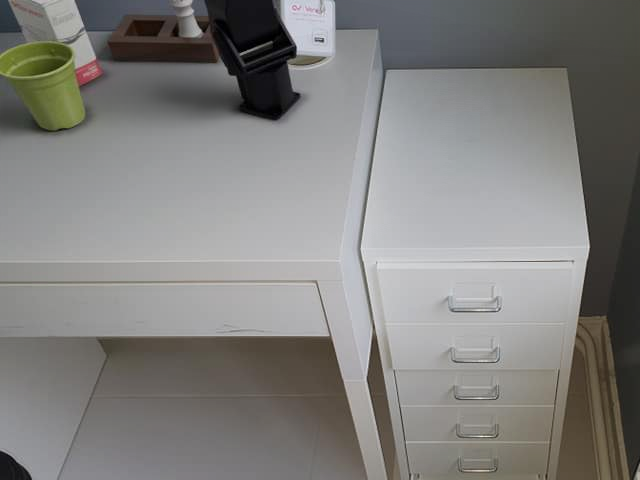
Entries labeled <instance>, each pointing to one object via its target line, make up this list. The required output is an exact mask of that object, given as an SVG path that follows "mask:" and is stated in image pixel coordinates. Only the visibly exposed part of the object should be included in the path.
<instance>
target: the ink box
mask: <svg viewBox="0 0 640 480" xmlns="http://www.w3.org/2000/svg"><path fill="white" fill-rule="evenodd" d="M7 1H8V4H9V5H10V7H11V10H12V13H13V14H14V17H15V19H16V21H17V23H18V26H19V28H20V30H21V32H22V34H23V36H24V39H25V41H26V43H31V42H39V41H55V42H60V43H64V44H66V45H68V46H70V47H71V48H72V49H73V50H74V52H75V59H74V63H75V74H76V78H77V82H78V86H79V88H80V87H82V86H84V85H85V84H88V83H89V82H91V81H93V80H95V79H97V78H99V77H101V76H102V75H103V72H102V69H101V67H100V64H99V62H98V60H97V56H96V53H95V51H94V48H93V46H92V44H91V40H90V38H89V36H88V33H87V31H86V27H85V25H84V22H83V19H82V17H81V14H80V11H79V9H78V6H77V3H76V1H75V0H7Z"/></svg>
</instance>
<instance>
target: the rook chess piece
mask: <svg viewBox="0 0 640 480" xmlns="http://www.w3.org/2000/svg"><path fill="white" fill-rule="evenodd" d="M193 2H194V0H169V5H170V6H171V7H172V8H173V9H174V12H173V14H174V15H176V16H177V19H178V24H179V33H178V34H179V36H178V37H201V38H203V36H204V34H205V33H203V32H202V30H201V29H200V28H199V27H198V25H197V22H196V20H195V18H194V16H195V15H194V13H195V10H194V9H193V8H192V5H193Z"/></svg>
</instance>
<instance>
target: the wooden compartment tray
mask: <svg viewBox="0 0 640 480" xmlns="http://www.w3.org/2000/svg"><path fill="white" fill-rule="evenodd" d="M194 18H195V20H196V22H197V25H198V27H199V28H200V29H201V30H202V32H203V33H205V34H204V36H203V38H201V37H178V36H179V34H178V33H179V24H178V19H177V16H176V15H175V14H129V13H128V14H123V17H122V18H121V20H120V21H119V23H118V24H117V26H116V27H115V28H114V30H113V32H112V33H111V35H110V36H109V38H108V39H107V41H106V43H107V46H108V48H109V50H110V53H111V56H112V59H113V61H114V62H153V63H154V62H156V63H159V62H161V63H210V64H211V63H212V64H213V63H218V62H219V59H220V58H221V57H220V55H219V52H218V50H217V47H216V45H215V42H214V40H213V38H212V35H211V33H210V22H209V18H208V15H194Z"/></svg>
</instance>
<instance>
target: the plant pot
mask: <svg viewBox="0 0 640 480" xmlns="http://www.w3.org/2000/svg"><path fill="white" fill-rule="evenodd" d="M74 59H75V52H74V50H73V49H72V48H71V47H70V46H68V45H66V44H64V43H60V42H55V41H39V42H31V43H27V42H26V43H23V44H19V45H16V46H14V47H11V48H9V49H7V50H5V51H4V52H2V53H1V54H0V76H1V77H3V78H4V80H5V81H6V82H7V83H8V84H9V85H11V87H12V88H13V90H14V91H15V92H16V94H17V95H18V97H19V98H20V100H21V101H22V102H23V104H24V105H25V107H26V108H27V109H28V111H29V113H30V114H31V115H32V117H33V119H34V120H35V122H36V123H37V124H38V126H39V127H40V128H42V129H44V130H47V131H58V130H60V129H71V128H74V127H76V126H77V125H80V124H81V123H82V122H83V121H84V120H85V118H86V109H85V105H84V101H83V98H82V93H81V90H80V87H79V86H78V82H77V78H76V74H75V63H74Z"/></svg>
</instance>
